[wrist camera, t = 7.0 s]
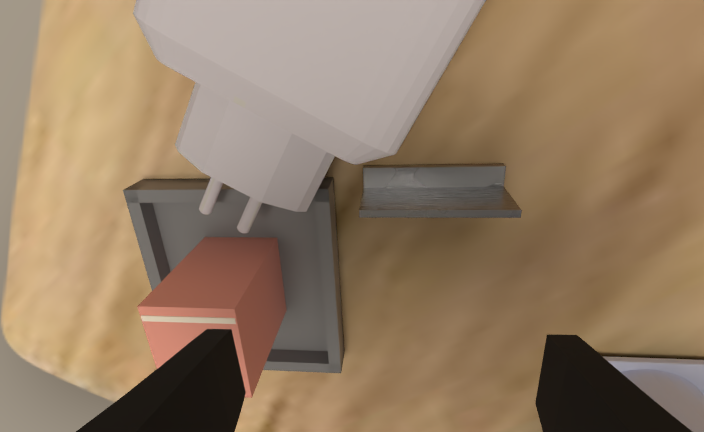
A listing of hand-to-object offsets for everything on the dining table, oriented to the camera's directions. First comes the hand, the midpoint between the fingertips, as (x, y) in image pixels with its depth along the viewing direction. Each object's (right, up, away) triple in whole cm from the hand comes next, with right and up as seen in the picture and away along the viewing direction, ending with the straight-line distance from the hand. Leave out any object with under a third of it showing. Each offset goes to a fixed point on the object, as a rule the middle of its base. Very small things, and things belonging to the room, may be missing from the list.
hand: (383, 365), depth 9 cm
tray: (-6, +1, +11) cm, 13 cm away
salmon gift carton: (-6, +1, +11) cm, 12 cm away
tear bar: (+3, +5, +8) cm, 10 cm away
